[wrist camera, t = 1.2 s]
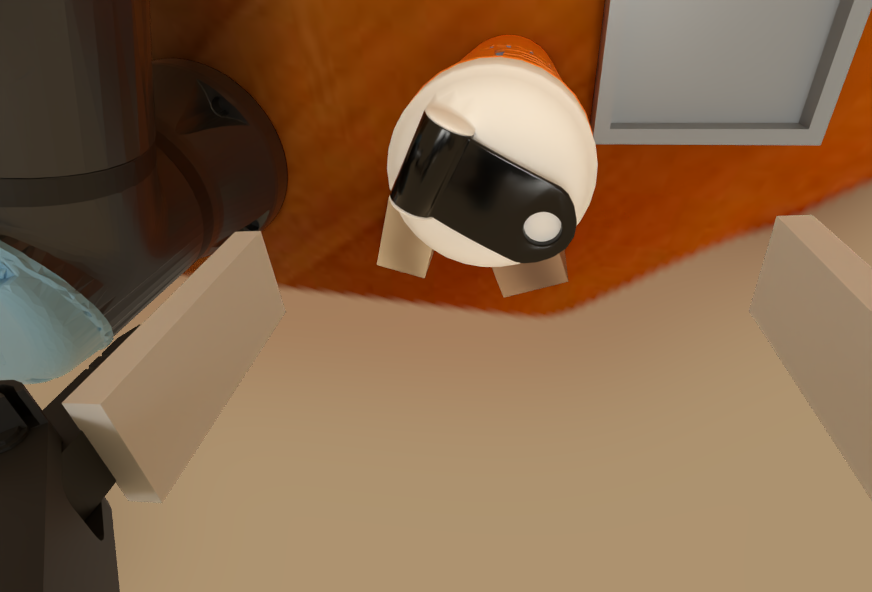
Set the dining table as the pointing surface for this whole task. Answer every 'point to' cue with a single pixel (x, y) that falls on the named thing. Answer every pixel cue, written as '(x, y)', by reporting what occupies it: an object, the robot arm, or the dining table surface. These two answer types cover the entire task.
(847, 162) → the dining table surface
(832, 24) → the tray
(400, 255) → the oak block
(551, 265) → the walnut block
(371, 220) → the dining table surface
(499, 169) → the shaker bottle
